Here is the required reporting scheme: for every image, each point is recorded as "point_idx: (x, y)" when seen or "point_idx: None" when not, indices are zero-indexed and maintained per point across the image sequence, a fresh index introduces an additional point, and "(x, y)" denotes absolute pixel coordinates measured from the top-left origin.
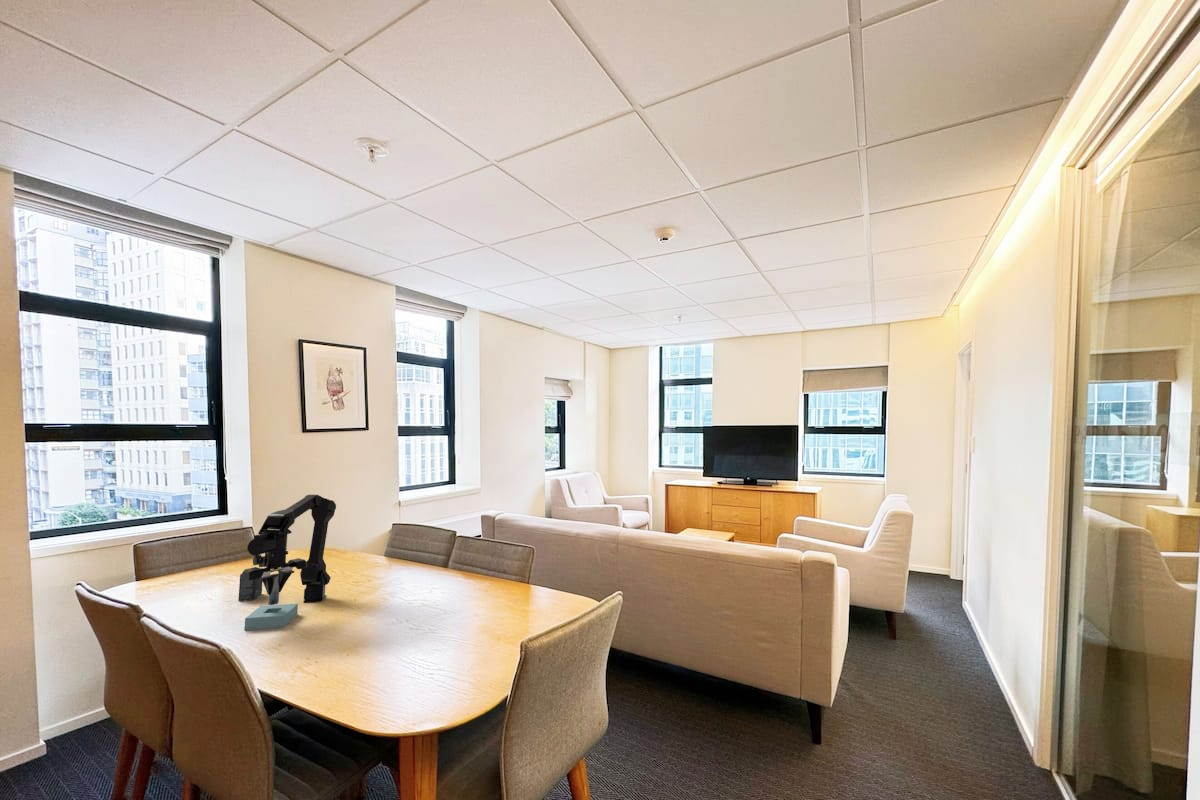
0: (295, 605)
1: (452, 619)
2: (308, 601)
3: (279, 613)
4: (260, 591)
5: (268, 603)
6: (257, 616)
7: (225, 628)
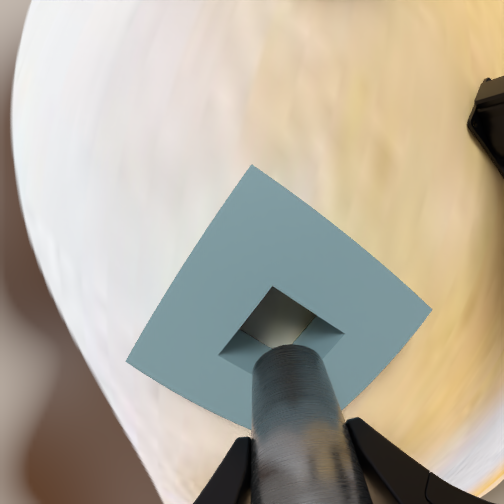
0: (407, 340)
1: (475, 478)
2: (482, 142)
3: None
4: None
5: (252, 378)
6: (183, 384)
7: (86, 232)
